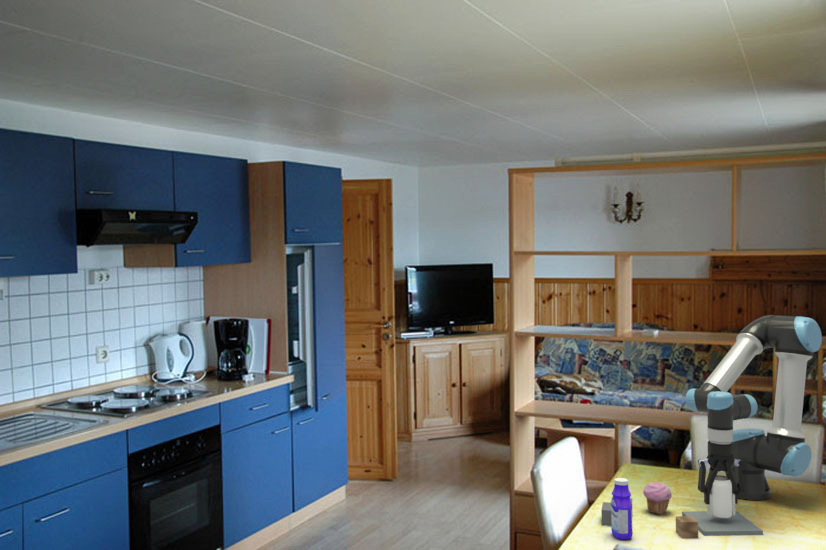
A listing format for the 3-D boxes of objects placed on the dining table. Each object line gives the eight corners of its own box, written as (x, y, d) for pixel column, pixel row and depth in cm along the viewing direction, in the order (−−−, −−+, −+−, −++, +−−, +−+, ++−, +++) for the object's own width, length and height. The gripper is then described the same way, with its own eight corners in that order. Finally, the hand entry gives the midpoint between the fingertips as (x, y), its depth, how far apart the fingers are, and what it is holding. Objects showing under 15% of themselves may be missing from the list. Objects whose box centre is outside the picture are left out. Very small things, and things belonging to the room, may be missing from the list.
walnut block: (692, 532, 223) (691, 516, 223) (698, 538, 218) (698, 521, 218) (675, 532, 223) (675, 516, 223) (681, 538, 218) (681, 522, 218)
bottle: (608, 532, 223) (608, 476, 223) (626, 531, 224) (625, 475, 223) (617, 541, 216) (616, 483, 216) (635, 540, 216) (635, 482, 216)
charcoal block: (615, 518, 236) (615, 503, 236) (614, 526, 228) (614, 511, 228) (603, 517, 237) (602, 502, 237) (601, 525, 229) (601, 509, 229)
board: (736, 514, 238) (736, 510, 238) (763, 534, 220) (763, 530, 220) (682, 515, 238) (682, 511, 238) (703, 535, 220) (703, 531, 220)
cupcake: (638, 511, 242) (638, 481, 241) (653, 506, 247) (653, 477, 247) (661, 518, 234) (661, 488, 234) (677, 513, 240) (676, 483, 240)
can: (734, 519, 225) (733, 481, 225) (712, 518, 226) (711, 480, 226) (729, 512, 231) (729, 475, 231) (708, 511, 232) (707, 474, 232)
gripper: (745, 438, 232) (746, 509, 232) (685, 438, 232) (686, 510, 232) (756, 443, 225) (757, 517, 225) (694, 444, 225) (695, 518, 225)
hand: (721, 513), depth 229 cm, fingers closed on can, 6 cm apart
